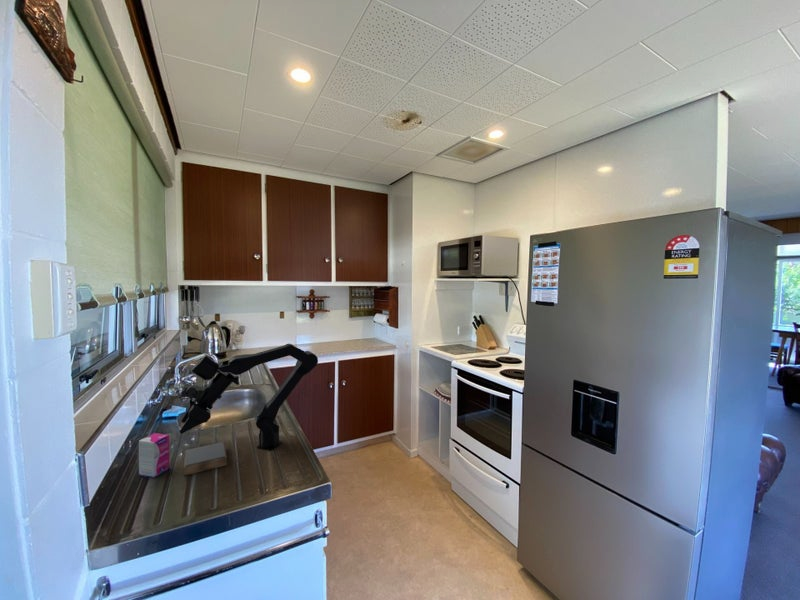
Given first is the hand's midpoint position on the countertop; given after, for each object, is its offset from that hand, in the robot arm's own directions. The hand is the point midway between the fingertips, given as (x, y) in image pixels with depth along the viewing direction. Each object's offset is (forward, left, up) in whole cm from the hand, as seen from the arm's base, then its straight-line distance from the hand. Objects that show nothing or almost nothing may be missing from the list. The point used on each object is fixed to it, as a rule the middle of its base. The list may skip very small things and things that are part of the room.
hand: (181, 427), depth 110 cm
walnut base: (-5, -4, -13) cm, 15 cm away
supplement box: (+5, +6, -13) cm, 15 cm away
